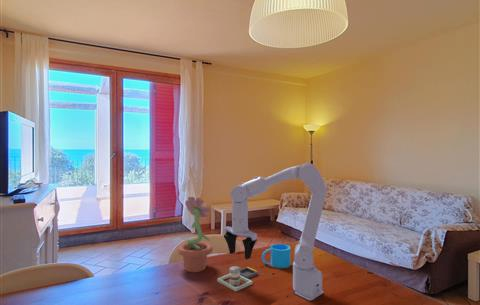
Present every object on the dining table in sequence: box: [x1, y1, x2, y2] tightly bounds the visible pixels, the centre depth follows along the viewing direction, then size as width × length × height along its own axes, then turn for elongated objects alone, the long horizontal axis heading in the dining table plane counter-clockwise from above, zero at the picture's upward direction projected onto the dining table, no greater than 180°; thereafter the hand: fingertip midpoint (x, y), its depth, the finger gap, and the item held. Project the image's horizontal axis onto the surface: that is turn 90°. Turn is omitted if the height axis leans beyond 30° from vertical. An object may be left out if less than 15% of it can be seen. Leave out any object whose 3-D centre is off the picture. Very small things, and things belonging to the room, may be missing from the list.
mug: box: [261, 243, 291, 269], centre depth 117 cm, size 12×8×8 cm
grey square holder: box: [240, 266, 259, 280], centre depth 107 cm, size 6×6×2 cm
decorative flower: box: [177, 196, 213, 273], centre depth 113 cm, size 15×14×30 cm
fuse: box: [228, 265, 241, 286], centre depth 100 cm, size 4×4×6 cm
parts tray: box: [216, 273, 253, 292], centre depth 100 cm, size 10×8×2 cm
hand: (239, 255), depth 101 cm, fingers open, 7 cm apart
